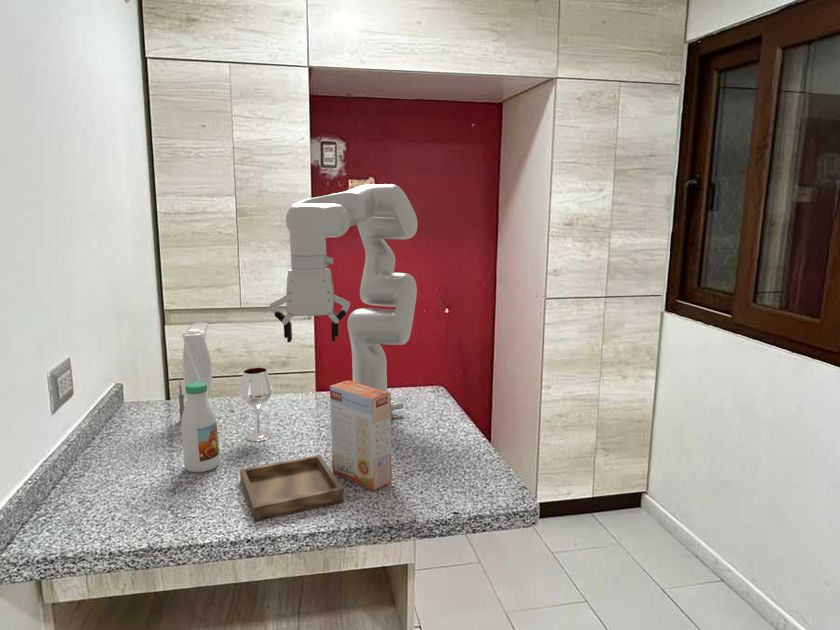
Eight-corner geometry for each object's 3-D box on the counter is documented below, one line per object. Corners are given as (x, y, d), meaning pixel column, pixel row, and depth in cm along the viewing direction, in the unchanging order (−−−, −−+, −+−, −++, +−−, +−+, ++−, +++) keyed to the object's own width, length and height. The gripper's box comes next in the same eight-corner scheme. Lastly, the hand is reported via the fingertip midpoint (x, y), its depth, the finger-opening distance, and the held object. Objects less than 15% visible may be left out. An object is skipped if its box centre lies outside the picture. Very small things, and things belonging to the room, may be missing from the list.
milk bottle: (186, 476, 133) (179, 391, 129) (183, 463, 140) (175, 382, 136) (222, 469, 137) (216, 386, 133) (217, 456, 143) (211, 377, 139)
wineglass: (279, 431, 159) (276, 366, 155) (268, 443, 151) (264, 375, 147) (249, 430, 159) (245, 365, 156) (237, 442, 151) (233, 374, 148)
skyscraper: (205, 413, 172) (197, 319, 167) (222, 419, 168) (215, 323, 162) (178, 422, 166) (170, 325, 160) (195, 429, 161) (187, 328, 156)
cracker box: (393, 482, 130) (392, 391, 126) (373, 492, 126) (371, 398, 121) (351, 463, 139) (349, 378, 135) (331, 472, 135) (328, 384, 131)
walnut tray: (320, 466, 138) (320, 454, 137) (343, 502, 122) (343, 488, 121) (240, 482, 130) (240, 469, 130) (254, 522, 114) (253, 507, 114)
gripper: (349, 260, 132) (351, 335, 135) (270, 261, 130) (274, 337, 133) (348, 264, 124) (351, 343, 128) (265, 265, 123) (269, 345, 126)
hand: (311, 340), depth 131 cm, fingers open, 9 cm apart
